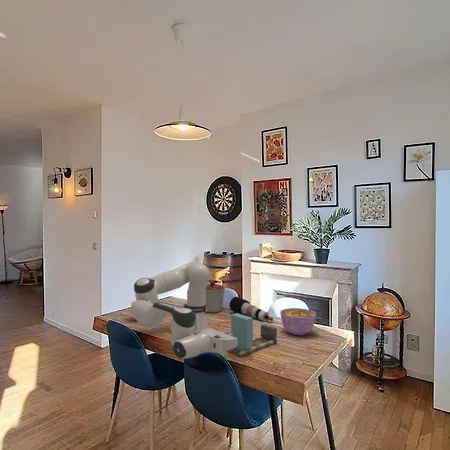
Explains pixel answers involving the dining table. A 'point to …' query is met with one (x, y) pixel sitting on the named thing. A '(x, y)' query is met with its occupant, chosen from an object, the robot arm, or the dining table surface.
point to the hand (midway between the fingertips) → (230, 334)
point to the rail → (259, 341)
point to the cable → (248, 309)
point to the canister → (214, 297)
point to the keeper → (242, 331)
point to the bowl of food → (298, 320)
